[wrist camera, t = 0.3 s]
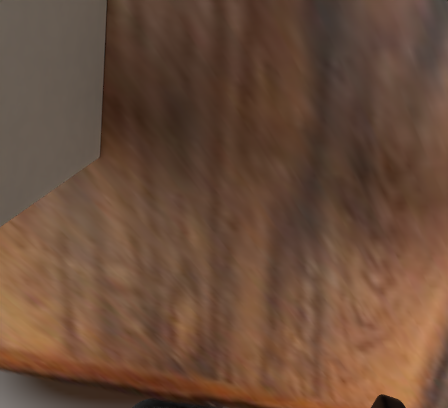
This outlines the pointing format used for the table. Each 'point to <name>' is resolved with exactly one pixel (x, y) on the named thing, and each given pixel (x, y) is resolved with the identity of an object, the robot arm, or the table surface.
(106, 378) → the table surface
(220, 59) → the table surface
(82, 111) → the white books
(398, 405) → the robot arm
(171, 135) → the table surface
